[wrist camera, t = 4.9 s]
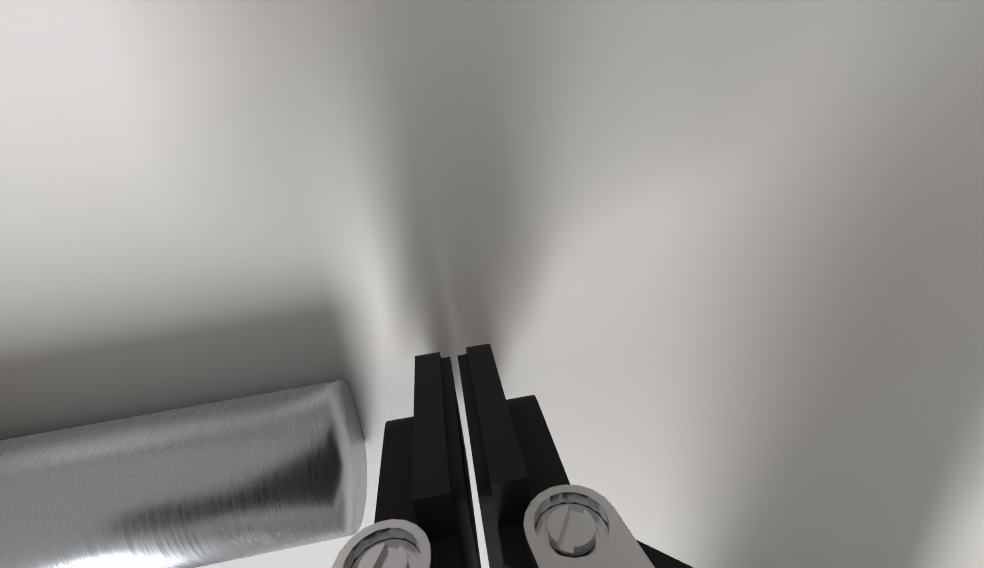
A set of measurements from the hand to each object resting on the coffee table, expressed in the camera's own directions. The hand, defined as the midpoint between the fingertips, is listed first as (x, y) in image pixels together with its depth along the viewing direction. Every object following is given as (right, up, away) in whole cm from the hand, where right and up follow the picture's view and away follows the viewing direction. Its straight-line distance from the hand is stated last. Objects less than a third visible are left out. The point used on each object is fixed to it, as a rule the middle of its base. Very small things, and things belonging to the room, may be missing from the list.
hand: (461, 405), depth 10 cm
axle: (-10, -1, 0) cm, 10 cm away
